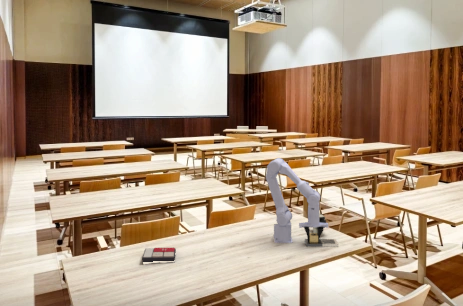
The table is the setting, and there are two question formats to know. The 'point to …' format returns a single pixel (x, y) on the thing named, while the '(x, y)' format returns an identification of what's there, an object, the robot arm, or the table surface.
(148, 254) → the grey and red box
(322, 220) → the pneumatic valve
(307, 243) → the tray
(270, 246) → the table surface
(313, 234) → the brass cube with hole
